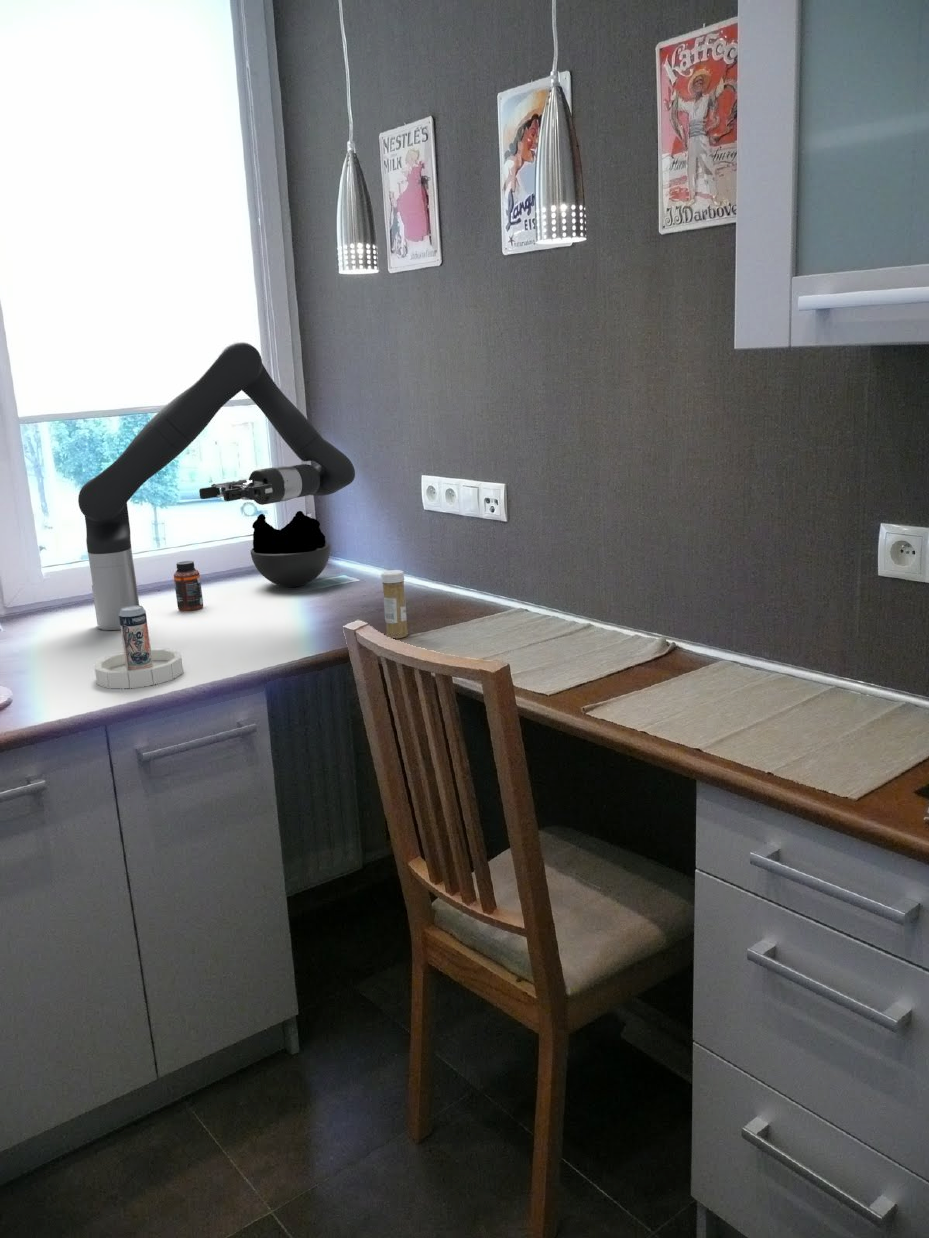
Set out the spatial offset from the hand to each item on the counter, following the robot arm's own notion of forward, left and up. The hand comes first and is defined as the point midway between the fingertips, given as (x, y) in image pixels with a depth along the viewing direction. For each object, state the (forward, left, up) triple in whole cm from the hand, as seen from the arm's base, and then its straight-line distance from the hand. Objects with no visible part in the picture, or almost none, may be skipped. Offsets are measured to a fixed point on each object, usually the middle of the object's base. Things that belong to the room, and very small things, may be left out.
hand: (212, 495), depth 212 cm
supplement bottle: (-28, +10, -30) cm, 42 cm away
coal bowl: (-25, +39, -30) cm, 55 cm away
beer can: (+10, -27, -29) cm, 41 cm away
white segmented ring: (+10, -27, -30) cm, 42 cm away
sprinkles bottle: (+33, +18, -30) cm, 48 cm away
